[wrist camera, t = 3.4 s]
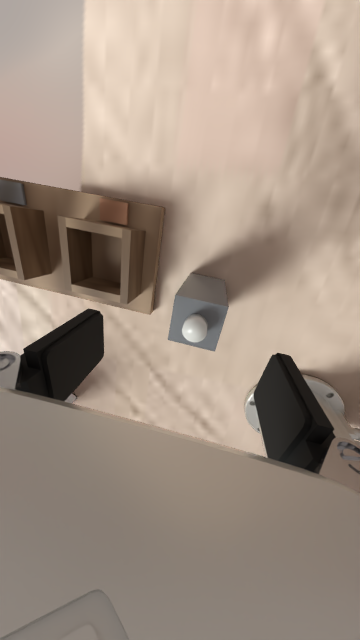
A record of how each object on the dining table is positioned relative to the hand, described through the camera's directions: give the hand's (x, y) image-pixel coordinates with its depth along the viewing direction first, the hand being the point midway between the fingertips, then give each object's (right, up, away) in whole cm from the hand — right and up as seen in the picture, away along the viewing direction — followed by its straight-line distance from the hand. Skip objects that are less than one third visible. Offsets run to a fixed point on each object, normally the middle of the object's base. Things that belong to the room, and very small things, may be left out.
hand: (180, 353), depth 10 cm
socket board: (-13, +11, +13) cm, 22 cm away
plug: (+3, +5, +12) cm, 14 cm away
